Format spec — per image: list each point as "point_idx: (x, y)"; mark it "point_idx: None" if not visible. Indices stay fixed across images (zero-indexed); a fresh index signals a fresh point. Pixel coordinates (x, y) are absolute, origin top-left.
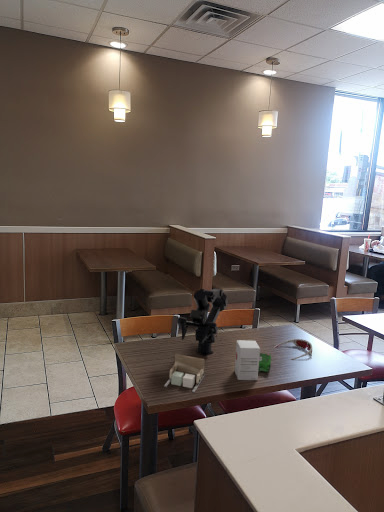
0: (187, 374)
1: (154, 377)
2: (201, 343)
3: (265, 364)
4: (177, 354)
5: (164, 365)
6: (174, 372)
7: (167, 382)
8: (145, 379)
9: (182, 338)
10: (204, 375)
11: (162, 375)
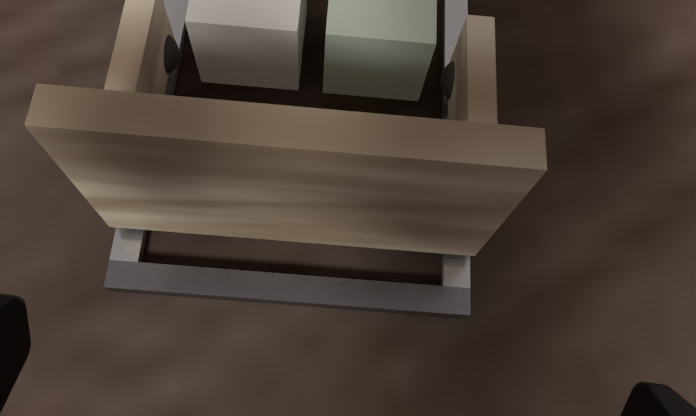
0: (274, 13)
1: (619, 94)
2: (24, 337)
3: None
4: (521, 161)
5: None
6: (430, 19)
7: (459, 14)
8: (674, 40)
9: (650, 385)
10: (108, 281)
11: (566, 153)
